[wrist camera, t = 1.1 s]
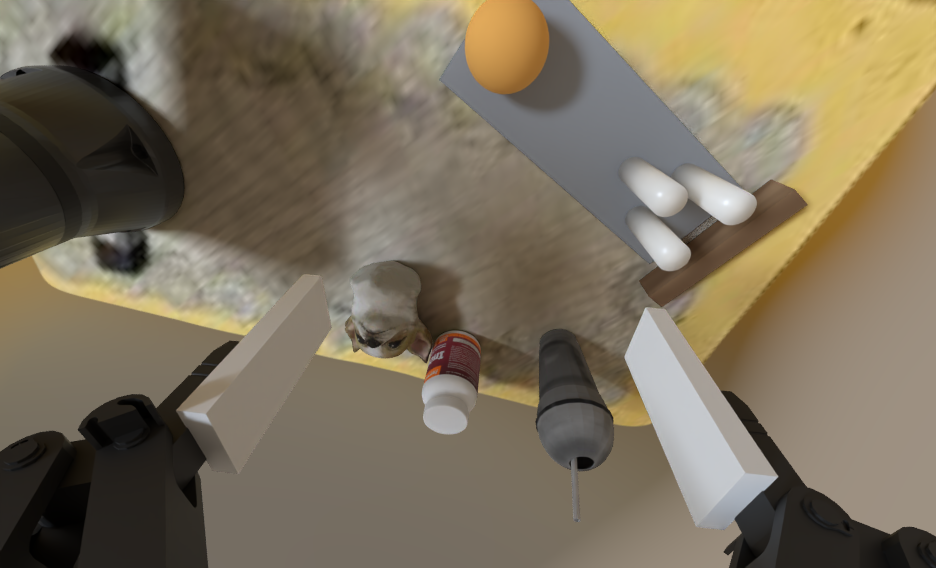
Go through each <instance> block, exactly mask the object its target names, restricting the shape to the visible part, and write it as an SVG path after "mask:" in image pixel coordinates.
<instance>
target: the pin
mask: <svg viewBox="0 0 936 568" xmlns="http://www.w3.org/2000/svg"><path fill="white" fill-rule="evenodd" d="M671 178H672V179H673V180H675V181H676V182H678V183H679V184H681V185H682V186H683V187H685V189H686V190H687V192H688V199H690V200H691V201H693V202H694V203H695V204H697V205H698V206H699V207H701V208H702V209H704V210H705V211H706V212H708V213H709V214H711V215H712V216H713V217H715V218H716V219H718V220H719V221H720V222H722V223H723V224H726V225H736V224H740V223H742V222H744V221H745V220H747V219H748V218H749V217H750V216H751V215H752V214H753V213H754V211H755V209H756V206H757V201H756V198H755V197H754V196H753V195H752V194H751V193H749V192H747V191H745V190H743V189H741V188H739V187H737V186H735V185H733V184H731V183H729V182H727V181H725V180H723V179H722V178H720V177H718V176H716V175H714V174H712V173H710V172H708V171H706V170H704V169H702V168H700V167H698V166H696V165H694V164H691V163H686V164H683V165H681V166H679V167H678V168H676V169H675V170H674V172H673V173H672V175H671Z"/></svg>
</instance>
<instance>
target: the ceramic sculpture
mask: <svg viewBox="0 0 936 568" xmlns="http://www.w3.org/2000/svg"><path fill="white" fill-rule="evenodd" d="M350 283H351V287H352V289H353V292H354V295H355V297H354V300H353V304H352V315H351V316H350V317H349V319H348V320H347V321H346V322H345V326H346V328H345V331H346V333H348V336H349V337H350V338H351V341H352V344H353V351H354V352H357V351H358V350H359V349H361V350H362V351H363V352H365V353H366V354H368V355H371V356H374V357H378V358H393V357H396V356H399V355H400V354H402V353H403V352H404V351H405V350H406V349H407V350H408V351H409V352H411V353H412V354H415V355H417V356H419V357H420V358H421V359H422V360H423V361H424V362H425V363H427V361H428V358H429V354H430V352H431V349H432V343H433V341H432V337H431V333H430V332H429V331H428V329H427V328H426V326H425V325H424V324H423V322H422V321H421V320H420V319H419V318H418V312H417V297H418V295H419V293H420V291H421V281H420V278H419V276H418V274H417V273H416V272H415V271H414V270H413V269H411V268H409V267H406V266H404V265H402V264H400V263H398V262H396V261H385V262H379V263H372V264H370V265H366V266H364V267H362V268H360V269H359V270H358V271H357V272H356V273H355V274H354V275H353V276H352V277H351V278H350Z"/></svg>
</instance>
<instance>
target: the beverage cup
mask: <svg viewBox="0 0 936 568" xmlns="http://www.w3.org/2000/svg"><path fill="white" fill-rule="evenodd" d="M536 429H537V431H538V432H539V438H540V440H541V443H542V445H543V447H544V448H545V450H546V451H547V453H548V454H549V456H550V457H551V458H552V459H553V460H554V461H556V462H557V463H558V464H560V465H561V466H563V467H565V468H567V469H570V470H571V474H572V475H571V476H572V498H573V519H574V521H576V522H580V505H579V489H578V473H577V472H578V471H588V470H591V469H594V468H596V467H598V466H599V465H601V464H602V463H603V462H604V461H605V460H606V458H607V457H608V455H609V454H610V452H611V450H612V447H613V441H614V427H613V417H612V415H611V412H610V411H609V410H608V408H607V406H606V404H605V403H604V401H603V399H602V397H601V395H599V392H598V390H597V387H596V385H595V382H594V380H593V377H592V375H591V373H590V370H589V368H588V365H587V363H586V360H585V358H584V355H583V353H582V350H581V348H580V346H579V344H578V342H577V340H576V337H575V336H574V335H573V334H572V333H571V332H569V331H567V330H563V329H555V330H552V331H549V332H547V333H546V334H544V335H543V337H542V338H541V340H540V350H539V404H538V411H537V419H536Z"/></svg>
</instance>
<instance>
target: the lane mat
mask: <svg viewBox="0 0 936 568" xmlns="http://www.w3.org/2000/svg"><path fill="white" fill-rule="evenodd" d="M532 1H533V2H534V3H535V4H536V5H537V6H538V7H539V8H540V10H541V12H542V13H543V15H544V17H545V20H546V23H547V26H548V31H549V49H548V55H547V58H546V61H545V64H544V66H543V68H542V70H541V72H540V73H539V75H538V76H537V78H536V79H535V80H534V81H533V82H532V83H531V84H530V85H529V86H527V87H526V88H524V89H522V90H521V91H518V92H516V93H512V94H497V93H493V92H491V91H489V90H487V89H485V88H484V87H482V86H481V85H480V84H479V83H478V82H477V81H476V80H475V78H474V77H473V75H472V73H471V72H470V69H469V67H468V64H467V61H466V55H465V39H464V40H463V42H462V44H461V45H460V47H459V49H458V50H457V52H456V53H455V55H454V57H453V58H452V60H451V61H450V63H449V65H448V66H447V68H446V70H445V71H444V73H443V74H442V76H441V78H440V79H439V80H440V81H441V82H442V83H443V84H445V85H446V86H447V87H448V88H449V89H450V90H451V91H453V92H454V93H455V94H456V95H457V96H458V97H459V98H461V99H462V100H463V101H464V102H465V103H466V104H467V105H469V106H470V107H471V108H472V109H473V110H474V111H475V112H477V113H478V114H479V115H480V116H481V117H482V118H483V119H485V120H486V121H487V122H488V123H489V124H490V125H491V126H493V127H494V128H495V129H496V130H497V131H498V132H499V133H501V134H502V135H503V136H504V137H505V138H506V139H507V140H508V141H510V142H511V143H512V144H513V145H514V146H515V147H516V148H518V149H519V150H520V151H521V152H522V153H523V154H524V155H526V156H527V157H528V158H529V159H530V160H531V161H532V162H534V163H535V164H536V165H537V166H538V167H539V168H540V169H542V170H543V171H544V172H545V173H546V174H547V175H548V176H550V177H551V178H552V179H553V180H554V181H555V182H556V183H558V184H559V185H560V186H561V187H562V188H563V189H564V190H566V191H567V192H568V193H569V194H570V195H571V196H572V197H574V198H575V199H576V200H577V201H578V202H579V203H580V204H582V205H583V206H584V207H585V208H586V209H587V210H588V211H590V212H591V213H592V214H593V215H594V216H595V217H596V218H597V219H599V220H600V221H601V222H602V223H603V224H604V225H605V226H607V227H608V228H609V229H610V230H611V231H612V232H613V233H615V234H616V235H617V236H618V237H619V238H620V239H621V240H623V241H624V242H625V243H626V244H627V245H628V246H629V247H631V248H632V249H633V250H634V251H635V252H636V253H637V254H639V255H640V256H641V257H642V258H643V259H644V260H645V261H647V262H648V263H649V264H651V263H652V262H653V261H654V260H653V258H652V257H651V256H650V255H649V253H648V252H647V251H646V249H645V248H644V247H643V246H642V244H641V243H640V242H639V240H638V239H637V238H636V236H635V235H634V234H633V233H632V231H631V230H630V229H629V227H628V226H627V225H626V223H625V217H626V214H627V213H628V212H629V210H631V209H632V208H634V207H636V206H646V207H648V206H647V205H645V204H644V203H643V202H642V201H641V200H640V199H639V198H638V197H637V196H636V195H635V194H634V193H633V192H632V191H631V190H630V189H629V188H628V187H627V186H626V185H625V184H624V183H623V182H622V181H621V180H620V178H619V176H618V171H619V168H620V166H621V164H622V163H623V162H624V161H625V160H627V159H628V158H631V157H640V158H642V159H643V160H645V161H646V162H648V163H649V164H651V165H652V166H654V167H655V168H657V169H658V170H660V171H661V172H663V173H664V174H666V175H667V176H669V177H670V178H671V175H672V173H673V172H674V170H675V169H676V168H678V167H679V166H681V165H683V164H686V163H691V164H694V165H696V166H698V167H700V168H702V169H704V170H706V171H708V172H710V173H712V174H714V175H716V176H718V177H720V178H722V179H723V180H725V181H727V182H729V183H731V184H733V185H735V186H737V187H739V188H741V187H740V186H739V185H738V183H737V182H736V181H735V180H734V179H733V178H732V177H731V176H730V175H729V174H728V173H727V172H726V170H725V169H724V168H723V167H722V166H721V165H720V164H719V163H718V162H717V161H716V160H715V158H714V157H713V156H712V155H711V154H710V153H709V152H708V151H707V150H706V149H705V148H704V147H703V145H702V144H701V143H700V142H699V141H698V140H697V139H696V138H695V137H694V136H693V135H692V133H691V132H690V131H689V130H688V129H687V128H686V127H685V126H684V125H683V124H682V123H681V122H680V120H679V119H678V118H677V117H676V116H675V115H674V114H673V113H672V112H671V111H670V110H669V108H668V107H667V106H666V105H665V104H664V103H663V102H662V101H661V100H660V99H659V98H658V97H657V95H656V94H655V93H654V92H653V91H652V90H651V89H650V88H649V87H648V86H647V85H646V83H645V82H644V81H643V80H642V79H641V78H640V77H639V76H638V75H637V74H636V73H635V72H634V70H633V69H632V68H631V67H630V66H629V65H628V64H627V63H626V62H625V61H624V60H623V58H622V57H621V56H620V55H619V54H618V53H617V52H616V51H615V50H614V49H613V48H612V47H611V45H610V44H609V43H608V42H607V41H606V40H605V39H604V38H603V37H602V36H601V35H600V33H599V32H598V31H597V30H596V29H595V28H594V27H593V26H592V25H591V24H590V23H589V22H588V20H587V19H586V18H585V17H584V16H583V15H582V14H581V13H580V12H579V11H578V10H577V9H576V7H575V6H574V5H573V4H572V3H571V2H570V1H569V0H532ZM465 38H466V37H465ZM741 189H742V188H741ZM648 208H649V207H648ZM649 209H650V208H649ZM650 210H651V209H650ZM651 211H652V210H651ZM652 212H653V211H652ZM653 213H654V212H653ZM654 214H655V213H654ZM655 215H656V214H655ZM656 216H657V217H658V218H659V219H660V220H661V221H662V222H663V223H664V224H665V225H666V226H667V227H668V228H669V229H670V230H671V231H672V232H673V233H674V234H675V235H676V236H677V237H678V238H679V239H680V240H681V239H682V238H684V237H685V236H686V235H688V234H689V233H690V232H691V231H693V230H694V229H695V228H696V227H698V226H699V225H700V224H702V223H703V222H704V221H705V220H707V219H708V218H709V217H711V216H712V215H711V214H709V213H708V212H706V211H705V210H704V209H702V208H701V207H699V206H698V205H697V204H695V203H694V202H693V201H691V200H690V199H688V200H687V203H686V205H685V206H684V208H683V209H682V210H681V211H680V212H678V213H677V214H675V215H673V216H669V217H660V216H658V215H656Z"/></svg>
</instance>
